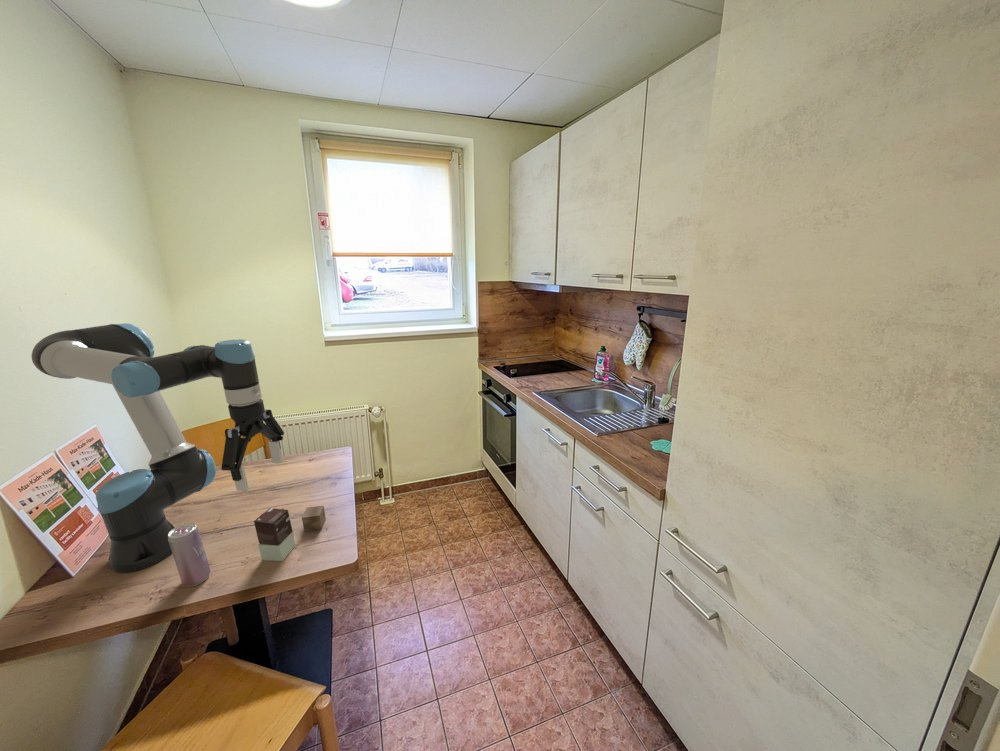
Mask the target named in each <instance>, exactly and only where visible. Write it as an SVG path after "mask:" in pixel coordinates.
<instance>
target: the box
mask: <svg viewBox="0 0 1000 751" xmlns="http://www.w3.org/2000/svg"><path fill="white" fill-rule="evenodd" d="M253 523H254V527H255V533H256V537H257V541H258V544H268V545H277V546H278V545H279V544H280V543H281V542H282V541H284V540H285V539H286V538H287V537H288V536H289V535H290V534H291V533H292V531H293V527H292V522H291V518H290V513H289V509H284V508H283V509H282V508H274V507H273V508H272V507H271V508H270V507H269V508H268V509H267V510H266V511H264V512H263V513H261V514H260V515H259V516H258V517H257V518H256V519H255V520H254V521H253Z"/></svg>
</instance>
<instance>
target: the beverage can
mask: <svg viewBox="0 0 1000 751" xmlns="http://www.w3.org/2000/svg"><path fill="white" fill-rule="evenodd" d="M168 542H169V545H170V548H171V551H172V553H171V554H172V556H173V560H174V563H175V566H176V568H177V572H178V574H179V578H180V581H181V585H183V586H184V587H188V588H189V587H190V588H191V587H195V586H198V585H201V584H202V583H204V582H206V580H208V578H209V576H210V574H211V568H210V564H209V560H208V557H207V553H206V550H205V546H204V544H203V540H202V537H201V533H200V530H199V528H198V526H197V524H196V523H194V522H188V523H184V524H180V525H177V526H176V527H175V528H174V529H173V530H171V531H170V532H169V533H168Z"/></svg>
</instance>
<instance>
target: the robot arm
mask: <svg viewBox="0 0 1000 751" xmlns="http://www.w3.org/2000/svg"><path fill="white" fill-rule="evenodd" d="M253 351H254V350H253V346H252V344H251V342H250V340H249V341H248V340H247V339H242V338H241V339H228V340H222V341H218V342H216V343H215V344H214V346H211V345H210V346H209V345H205V344H200V345H191V346H188V347H186V348H185V349H184V350H182V351H177V352H172V353H168V354H164V355H159V356H155V349H154V343H153V341H152V339H151V338H150V337H149V335H148V334H147V333H146V332H145V331H144V330H143V329H141V328H140V327H138V326H137V325H135V324H133V323H110V324H105V325H99V326H91V327H85V328H79V329H77V328H76V329H69V330H68V329H67V330H61V331H58V332H54V333H52V334H48V335H47V336H45V337H43V338H41V339H40V340H39V341H38V342H37V343H36V344H35V345H34V346H33V349H32V351H31V361H32V363H33V365H34V366H35V368H36V369H37V370H38V371H40V372H41V373H43V374H45V375H48V376H50V377H53V378H59V379H66V380H67V379H71V380H72V379H76V378H79V379H83V380H89V381H95V382H99V383H105V384H109V385H112V386H113V389H114V391H115V392H116V394H117V396H118V397H119V400H120V401H121V403H122V405H123V406H124V408H125V410H126V412H127V414H128V416H129V417H130V419H131V421H132V423H133V424H134V426H135V429H136V430H137V432H138V434H139V436H140V437H141V439H142V441H143V443H144V445H145V446H146V448H147V450H148V452H149V454H150V455H151V458H150V460H149V462H148V466H149V468H150V469H147V468H138V469H134V470H132V471H127V472H124V473H121V474H118V475H116V476H115V477H112V478H111V479H109V480H107V481H106V482H105V483H103V484H102V485H101V487H99V489H98V490H97V492H96V494H95V500H96V503H97V510H98V512H99V513H100V515H101V518H102V521H103V523H104V526H105V528H106V531H107V533H108V537H109V539H110V545H109V546H110V547H109V557H108V564H109V566H110V568H111V570H112V571H113V572H114V573H115V572H116V573H130V572H135V571H139V570H142V569H145V568H148V567H151V566H152V565H155V564H158V563H159V562H161V561H162V560H164V559H166V558H168V556H170V555H171V554H172V551H171V548H170V545H169V542H168V533H169V532H170V531H171V530H173V529H174V528H176V527H175V526H174V525H173V524H172V523H171V522H170V521H169V520H168V519H167V517H166V514H165V511H164V510H166V509H167V508H170V507H171V506H173V505H175V504H176V503H178V502H180V501H182V500H184V499H186V498H188V497H189V496H191V495H193V494H195V493H197V492H201V491H202V490H203V489H205V488H206V487H208V486H209V485H211V484H212V483H213V482H214V481H215V478H216V475H217V466H216V462H215V460H214V457H213V456H212V455H211V454H210V453H209V452H208V451H207V450H206V449H203V448H197V446H196V445H195V444H193V443H189V442H187V441H186V438H185V437H184V435H183V433H182V431H181V429H180V427H179V425H178V423H177V421H176V420H175V418H174V416H173V414H172V412H171V410H170V409H169V407H168V405H167V403H166V400H164V397H163V396H162V394H161V392H160V391H164V390H167V389H172V388H174V387H177V386H181V385H185V384H189V383H192V382H195V381H199V380H202V379H206V378H210V377H213V378H220V379H221V382H222V386H223V391H224V396H225V400H226V404H228V406H227V408H228V412H229V416H230V419H231V420H232V421H233V422H234V427H233V428H226V429H225V430H224V436H225V441H224V448H223V455H222V461H221V468H220V469H221V471H227V472H228V471H229V472H230V474H231V475H230V476H231V479H232V481H233V482H234V484H235V488H236V491H244V492H245V491H246V492H247V491H249V489H250V488H249V484H248V479H247V474H246V471H245V467H244V466H242V463H243V460H244V456H245V453H246V451H247V448H248V444H249V442H251V440H252V439H253V437H255V436H256V435H258V434H261V435H263V436H264V437H266V438H267V439H269V441H268V442H267V443H268V444H267V445H268V447H269V449H268V450H269V454H270V459H271V462H272V463H273V464H274V463H275V464H282V463H283V462H284V460H283V455H282V450H281V448H282V447H281V442H280V441H283V439H284V435H285V432H284V430H283V428H282V427H281V426H280V424H279V423H278V421H277V420H276V419H275V417H274V416H273V412H272V409H265V408H266V407H265V405H264V400H263V399H262V397H263V396H262V390H261V386H260V381H259V380H260V379H259V374H258V369H257V365H256V364H257V363H256V356H255V353H254V352H253Z"/></svg>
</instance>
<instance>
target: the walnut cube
mask: <svg viewBox="0 0 1000 751" xmlns="http://www.w3.org/2000/svg"><path fill="white" fill-rule="evenodd" d="M326 519H327V517H326V512H325V507H324V505H318V506H309V507H308V506H307V507H306V508H305V511H304V512H303V515H302V516H301V521H302V526H303V530H304V532H311V531H319V530H323V528H324V525H325V523H326Z"/></svg>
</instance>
